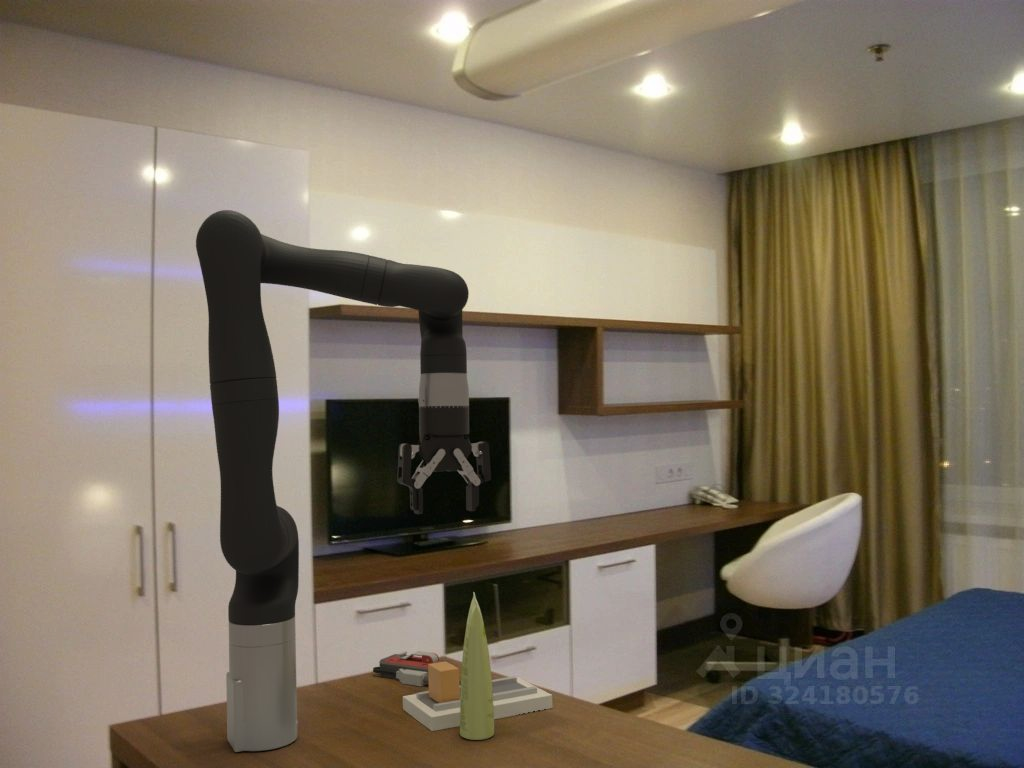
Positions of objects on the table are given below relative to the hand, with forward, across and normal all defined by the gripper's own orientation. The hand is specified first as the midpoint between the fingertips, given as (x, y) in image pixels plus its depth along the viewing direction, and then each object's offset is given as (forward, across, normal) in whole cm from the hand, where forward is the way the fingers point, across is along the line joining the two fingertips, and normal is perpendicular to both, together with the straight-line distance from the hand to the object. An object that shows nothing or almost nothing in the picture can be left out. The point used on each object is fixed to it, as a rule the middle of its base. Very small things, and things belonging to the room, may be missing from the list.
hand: (445, 512), depth 138 cm
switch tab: (+29, +1, +3) cm, 29 cm away
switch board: (+31, +6, +3) cm, 32 cm away
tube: (+31, +1, -8) cm, 32 cm away
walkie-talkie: (+32, +5, +23) cm, 40 cm away
